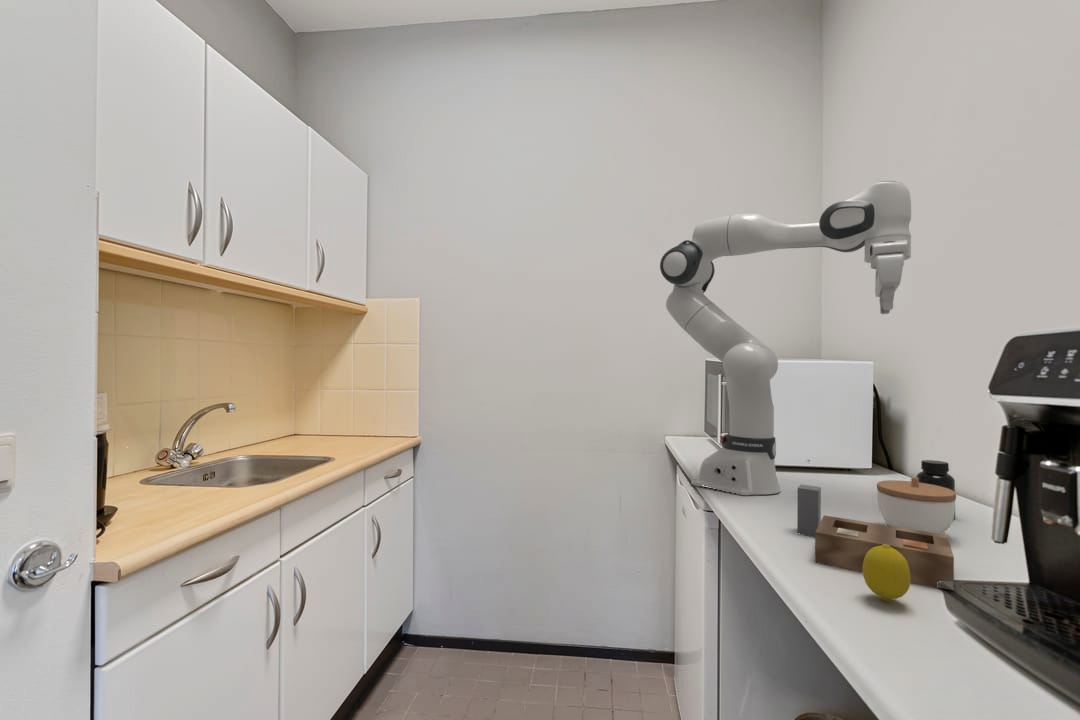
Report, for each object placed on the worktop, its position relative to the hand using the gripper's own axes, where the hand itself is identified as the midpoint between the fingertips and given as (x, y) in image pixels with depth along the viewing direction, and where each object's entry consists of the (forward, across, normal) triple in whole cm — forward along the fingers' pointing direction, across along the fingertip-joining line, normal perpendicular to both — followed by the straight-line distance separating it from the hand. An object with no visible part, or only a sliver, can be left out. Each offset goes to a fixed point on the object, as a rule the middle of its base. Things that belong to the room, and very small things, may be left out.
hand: (886, 312), depth 116 cm
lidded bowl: (+46, +16, +4) cm, 49 cm away
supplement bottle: (+46, -1, +10) cm, 47 cm away
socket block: (+46, +39, -3) cm, 60 cm away
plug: (+46, +28, -14) cm, 56 cm away
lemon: (+46, +55, -3) cm, 72 cm away
